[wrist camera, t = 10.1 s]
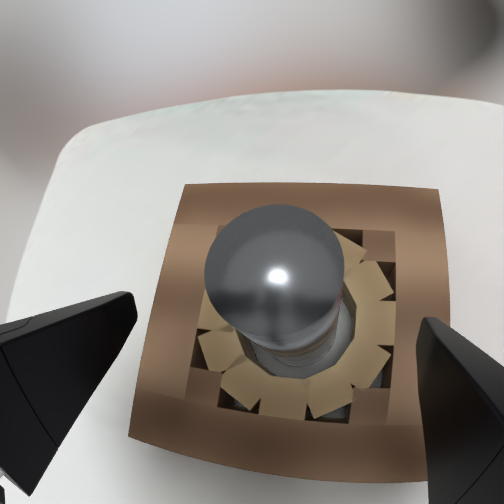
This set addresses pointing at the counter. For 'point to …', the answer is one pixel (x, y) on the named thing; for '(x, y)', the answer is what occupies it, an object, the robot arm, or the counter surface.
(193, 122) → the counter surface
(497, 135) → the counter surface
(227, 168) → the counter surface
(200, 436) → the bearing housing
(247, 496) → the counter surface
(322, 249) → the steel roller
